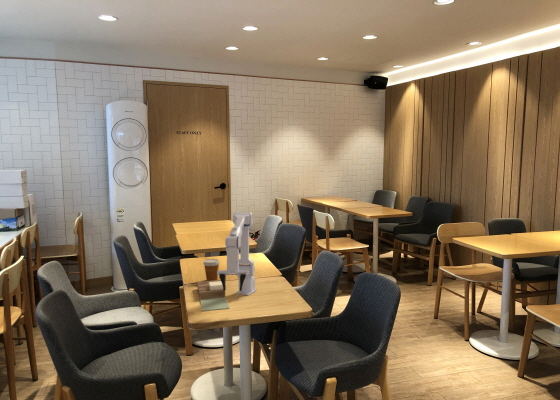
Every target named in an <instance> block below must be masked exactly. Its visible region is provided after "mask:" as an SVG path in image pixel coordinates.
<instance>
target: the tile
mask: <svg viewBox="0 0 560 400" xmlns="http://www.w3.org/2000/svg"><path fill="white" fill-rule="evenodd" d="M209 288H210V290H221V289H223V285H222V282H221V281H218V282H209Z"/></svg>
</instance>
